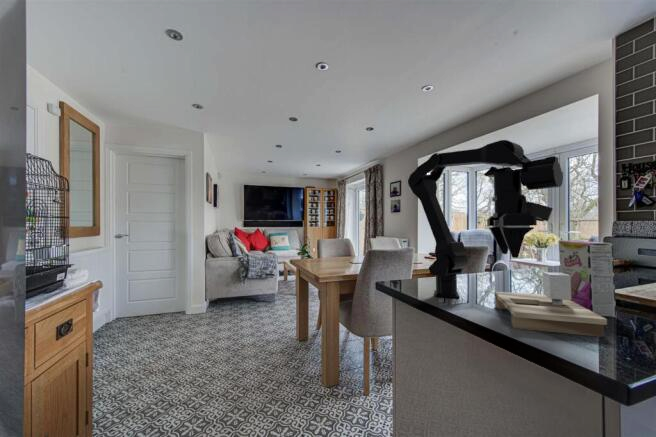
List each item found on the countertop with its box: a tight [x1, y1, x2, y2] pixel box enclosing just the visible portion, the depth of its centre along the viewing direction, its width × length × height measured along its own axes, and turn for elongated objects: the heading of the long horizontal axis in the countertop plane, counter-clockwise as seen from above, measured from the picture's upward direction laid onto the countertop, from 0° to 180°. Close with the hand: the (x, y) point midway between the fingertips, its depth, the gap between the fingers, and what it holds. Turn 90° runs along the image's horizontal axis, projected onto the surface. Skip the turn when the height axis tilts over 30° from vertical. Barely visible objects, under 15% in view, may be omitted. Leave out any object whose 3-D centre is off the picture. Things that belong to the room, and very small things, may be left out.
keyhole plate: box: [494, 291, 608, 338], centre depth 60 cm, size 18×14×4 cm
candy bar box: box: [558, 239, 617, 318], centre depth 67 cm, size 11×5×16 cm, turn 168°
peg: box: [542, 271, 571, 306], centre depth 59 cm, size 4×4×10 cm
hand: (509, 255), depth 68 cm, fingers open, 9 cm apart
